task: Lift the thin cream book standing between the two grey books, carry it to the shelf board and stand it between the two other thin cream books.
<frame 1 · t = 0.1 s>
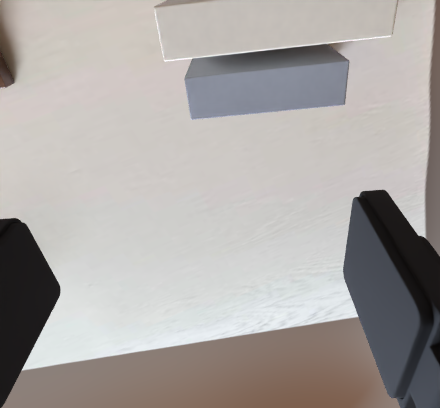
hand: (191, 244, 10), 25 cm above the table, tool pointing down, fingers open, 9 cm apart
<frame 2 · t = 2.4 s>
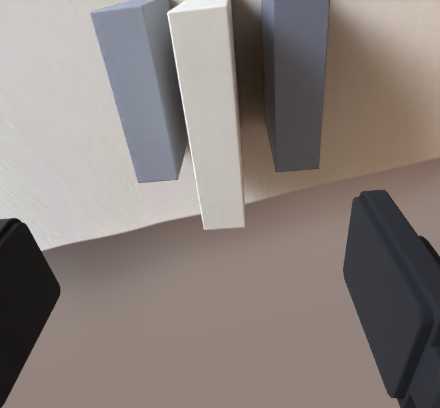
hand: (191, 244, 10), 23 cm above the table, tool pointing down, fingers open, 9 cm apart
grey books: (221, 66, 29), on the table
thin book: (221, 66, 29), on the table
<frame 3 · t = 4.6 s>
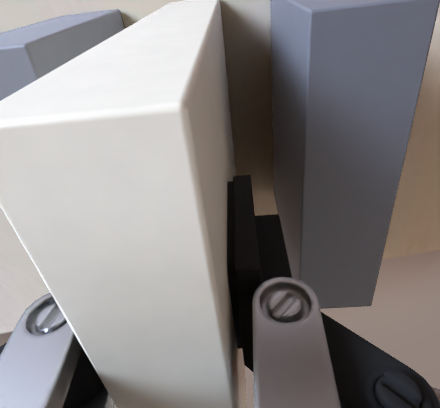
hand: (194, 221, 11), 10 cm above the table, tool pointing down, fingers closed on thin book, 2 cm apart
grey books: (208, 115, 19), on the table
thin book: (208, 115, 19), on the table, touching gripper
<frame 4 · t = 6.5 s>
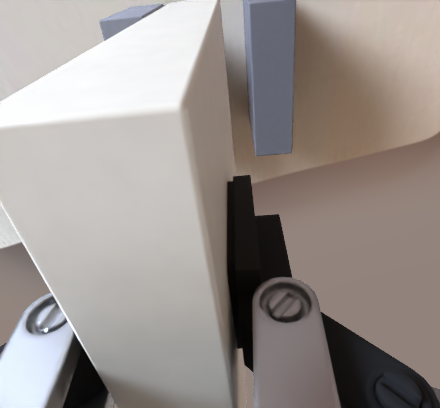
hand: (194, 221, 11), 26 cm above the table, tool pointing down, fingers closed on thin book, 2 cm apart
grey books: (209, 65, 33), on the table
thin book: (208, 115, 19), point 16 cm above the table, touching gripper
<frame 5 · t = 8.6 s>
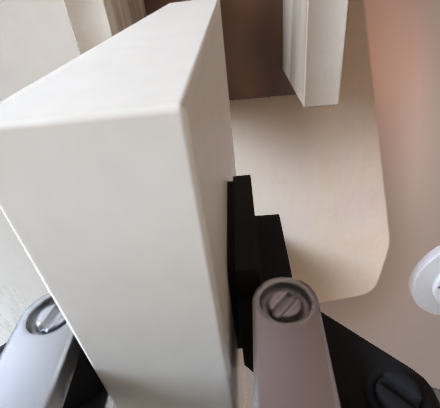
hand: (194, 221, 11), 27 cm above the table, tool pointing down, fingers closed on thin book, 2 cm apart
shelf: (214, 9, 31), on the table
thin book: (208, 115, 19), point 18 cm above the table, touching gripper
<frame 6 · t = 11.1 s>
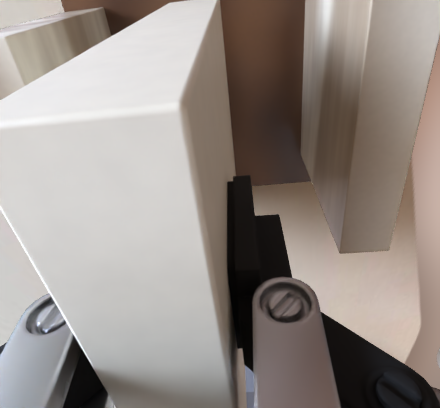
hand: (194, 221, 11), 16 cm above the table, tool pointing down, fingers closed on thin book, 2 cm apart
grey books: (211, 341, 42), on the table
shelf: (214, 83, 24), on the table
thin book: (208, 115, 19), point 7 cm above the table, touching gripper
when the fingers open (11 cm above the table, at t = 12.6 s): thin book stays where it is, resting on shelf.
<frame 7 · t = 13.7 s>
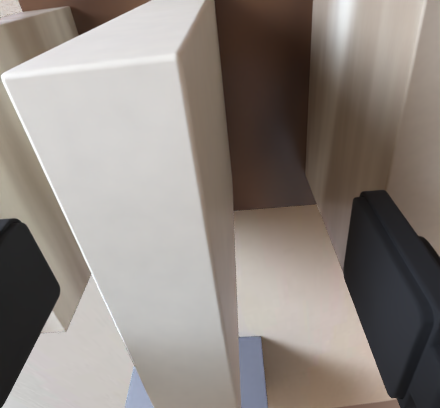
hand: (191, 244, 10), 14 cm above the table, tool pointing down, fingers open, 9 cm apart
grey books: (205, 367, 39), on the table
shelf: (205, 94, 21), on the table
thin book: (203, 101, 20), point 1 cm above the table, touching shelf
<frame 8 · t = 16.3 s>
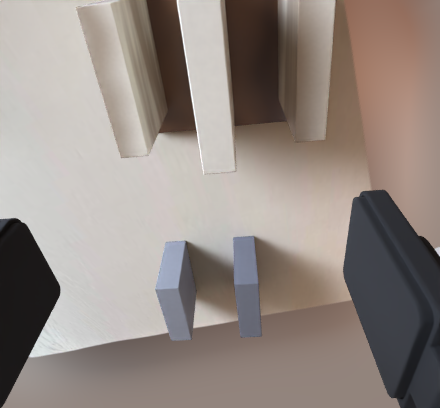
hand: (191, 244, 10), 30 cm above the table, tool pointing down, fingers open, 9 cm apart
grey books: (213, 265, 53), on the table
shelf: (217, 47, 35), on the table
thin book: (216, 50, 34), point 1 cm above the table, touching shelf
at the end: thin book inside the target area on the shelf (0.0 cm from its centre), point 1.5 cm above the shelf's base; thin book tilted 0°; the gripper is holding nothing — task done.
